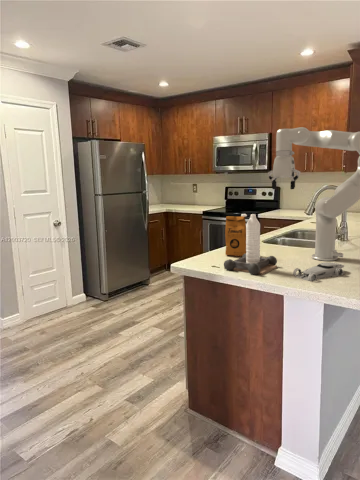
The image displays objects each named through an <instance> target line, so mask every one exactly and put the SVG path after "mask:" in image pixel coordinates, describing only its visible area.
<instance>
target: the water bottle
mask: <svg viewBox="0 0 360 480" xmlns="http://www.w3.org/2000/svg"><path fill="white" fill-rule="evenodd" d="M241 216H243V217H245V218H246V217H247V216H248V215H247V214H246V213H241V215H240V217H241ZM260 253H261V223H260V222H259V220H258V218H257V216H256V213H252V214H250V216H249V219H248V221H246V263H250V264H252V263H257V262H260V258H261V254H260Z"/></svg>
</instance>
